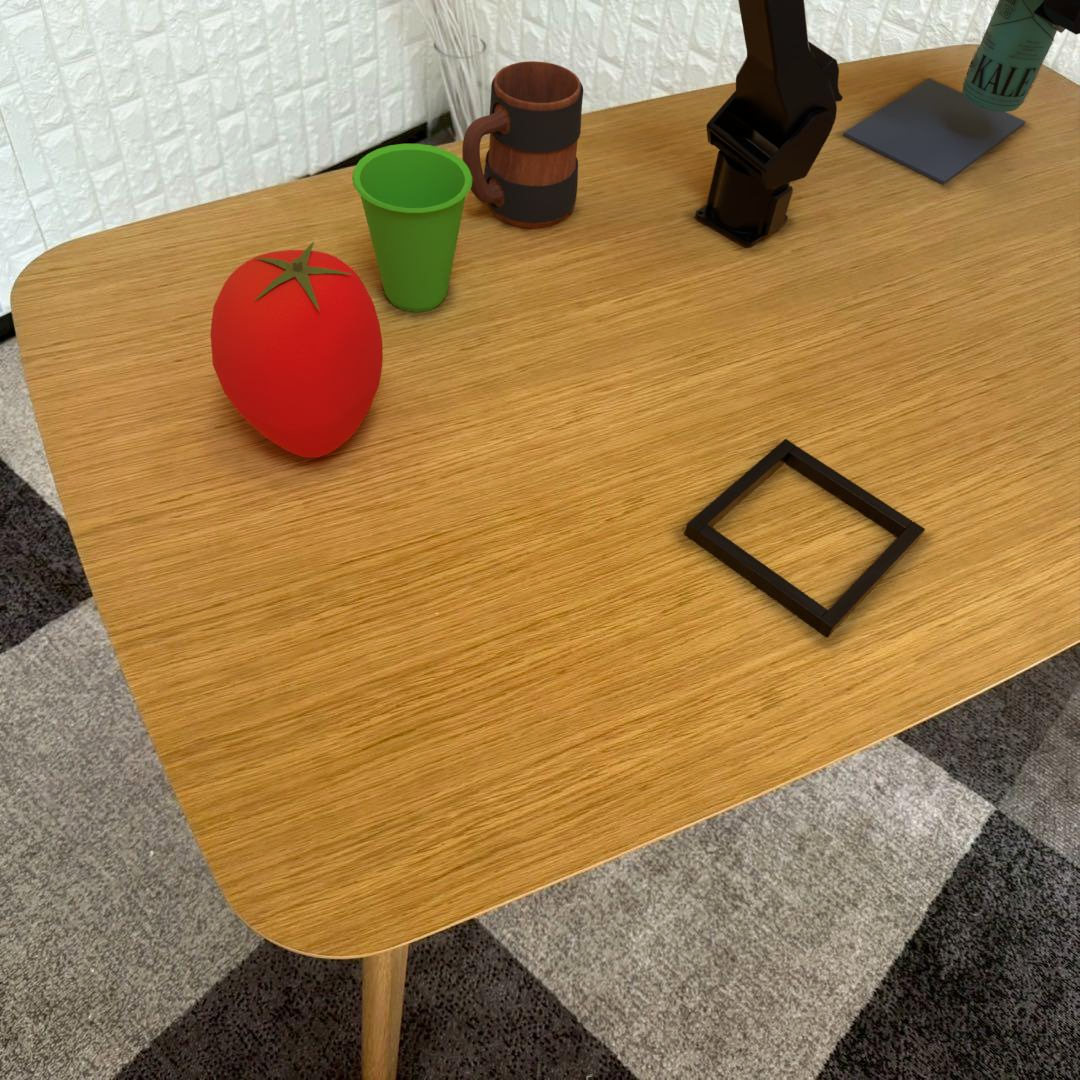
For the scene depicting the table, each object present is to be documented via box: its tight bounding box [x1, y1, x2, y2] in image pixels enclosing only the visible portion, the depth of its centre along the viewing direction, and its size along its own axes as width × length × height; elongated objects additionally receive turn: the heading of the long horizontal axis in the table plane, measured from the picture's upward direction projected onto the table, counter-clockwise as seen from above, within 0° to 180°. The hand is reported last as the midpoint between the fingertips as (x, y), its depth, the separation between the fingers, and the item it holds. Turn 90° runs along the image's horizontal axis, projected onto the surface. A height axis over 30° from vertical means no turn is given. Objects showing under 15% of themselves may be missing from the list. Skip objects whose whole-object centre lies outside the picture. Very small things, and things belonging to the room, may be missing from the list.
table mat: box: [842, 77, 1026, 185], centre depth 109 cm, size 12×18×1 cm, turn 137°
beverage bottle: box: [962, 0, 1058, 113], centre depth 97 cm, size 6×7×20 cm
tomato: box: [209, 241, 384, 458], centre depth 70 cm, size 13×11×14 cm
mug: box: [461, 60, 584, 229], centre depth 89 cm, size 9×12×12 cm
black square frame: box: [683, 438, 926, 638], centre depth 71 cm, size 12×12×1 cm
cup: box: [351, 143, 472, 313], centre depth 81 cm, size 9×9×11 cm
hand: (1037, 13), depth 98 cm, fingers closed on beverage bottle, 6 cm apart
